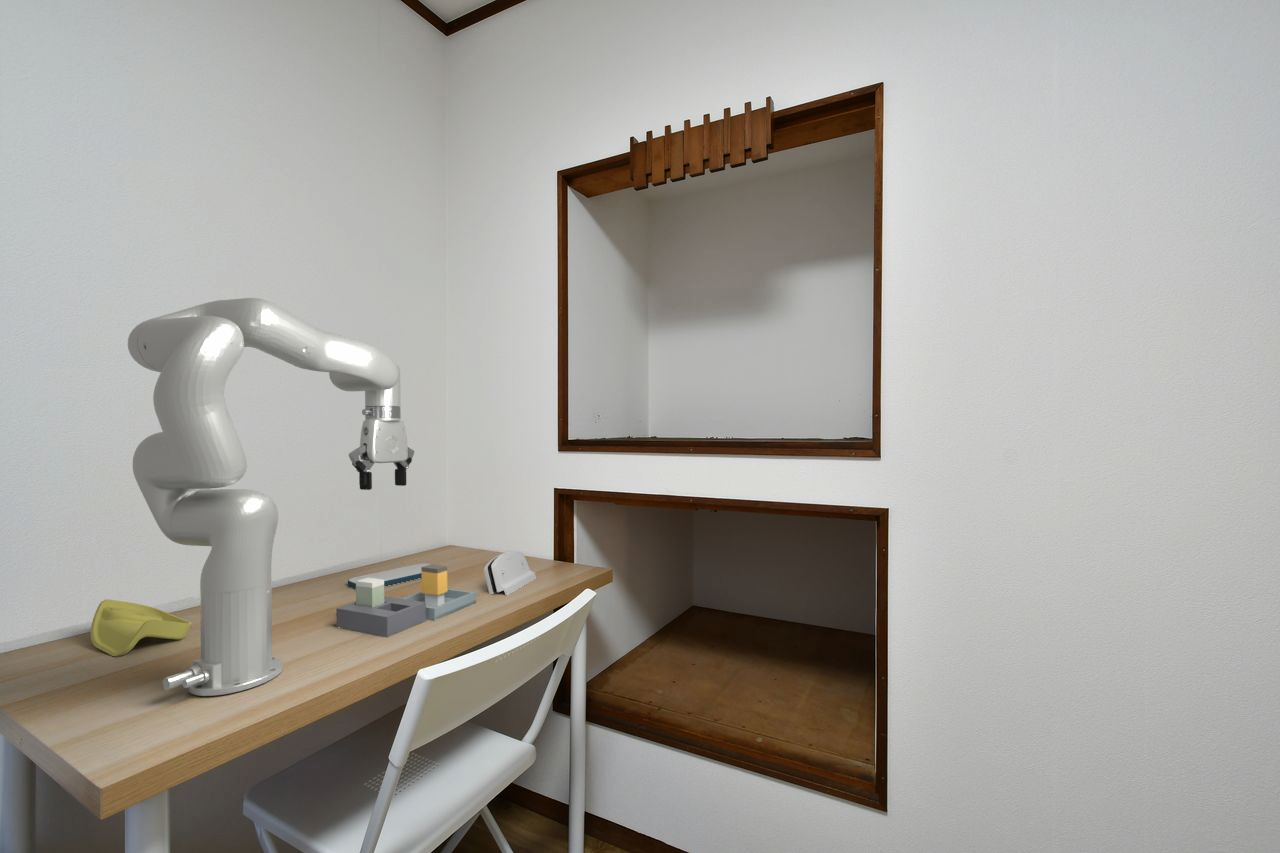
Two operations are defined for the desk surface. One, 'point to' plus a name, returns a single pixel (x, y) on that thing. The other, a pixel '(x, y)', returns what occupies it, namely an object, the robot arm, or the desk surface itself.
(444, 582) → the block
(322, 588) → the desk surface
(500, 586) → the grey slotted holder
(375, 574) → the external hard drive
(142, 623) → the plastic component
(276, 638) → the desk surface
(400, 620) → the block
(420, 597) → the parts tray
